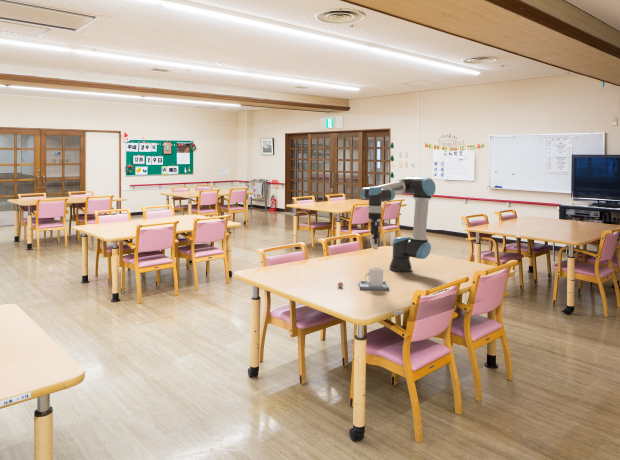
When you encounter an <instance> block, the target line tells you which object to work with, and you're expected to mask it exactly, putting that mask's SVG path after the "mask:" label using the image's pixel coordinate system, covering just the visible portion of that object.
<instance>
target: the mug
mask: <svg viewBox="0 0 620 460" xmlns="http://www.w3.org/2000/svg"><path fill="white" fill-rule="evenodd" d="M367 276H368V280H366V278H367ZM364 281H365V282H366V281H368V282H366V284H369V286H370V287H382V286H383V281H384V268H383V267H380V266H379V267H378V266H377V267H376V266H373V267H372V266H371V267H369V268H368V272H366V274H365V276H364Z"/></svg>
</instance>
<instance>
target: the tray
mask: <svg viewBox="0 0 620 460" xmlns="http://www.w3.org/2000/svg"><path fill="white" fill-rule="evenodd" d="M368 281H369V280H366V282H368ZM366 282H365V280H358V286H359V290H360V291H363V290H364V291H365V290H366V291H390V286H389V284H388V282H387V281H386V280H385V281H384V280H383V286H382V287H370V286H369V284H366Z"/></svg>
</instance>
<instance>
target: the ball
mask: <svg viewBox="0 0 620 460" xmlns="http://www.w3.org/2000/svg"><path fill="white" fill-rule="evenodd" d="M343 286H344V283H343V282H342V281H339V282H338V283H337V287H338V288H343Z"/></svg>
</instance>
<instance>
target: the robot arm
mask: <svg viewBox="0 0 620 460" xmlns="http://www.w3.org/2000/svg"><path fill="white" fill-rule="evenodd" d="M436 187H437V186H436V183H435V182H434V180H433V179H432V178H430V177H419V176H417V177H415V176H410V177H404V178H400V179H397V180H396V181H394V182H389V183H385V184H380V185H376V186H369V187H362V188H361V189H360V191H359V195H360V198H361V199H363V200H366V201H367V200H368V206H367V209H368V218H367V219H369V220H370V245H371V246H372V247H373V248H372V250H378V249H379V248H378V247H379V221H378V220H380V219H382V213H381V212H382V202H392V201H394V199H395V197H396V194H399V195H403V194H404V195H406V194H407V195H413V196H412V197H413V199H414V201H415V203H414V214H413V215H414V216H413V227H412V230H413V231H412V236H398V237H394V238H393V240H392V241H393V242H392V259H391V261H390V265H389V270H390V271H393V272H398V273H399V272H401V273H408V272H411V271H412V264H411V261H410V258H414V259H418V260H419V259H421V260H424V259H426V258H428V256H429V255H430V254H431V250H432V245H431V243H430V242H429V238H428V237H427V227H428V225H427V222H428V212H429V210H428V209H429V201H430V200H431V199H432V196H434V195H435V193H436V189H437V188H436Z"/></svg>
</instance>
